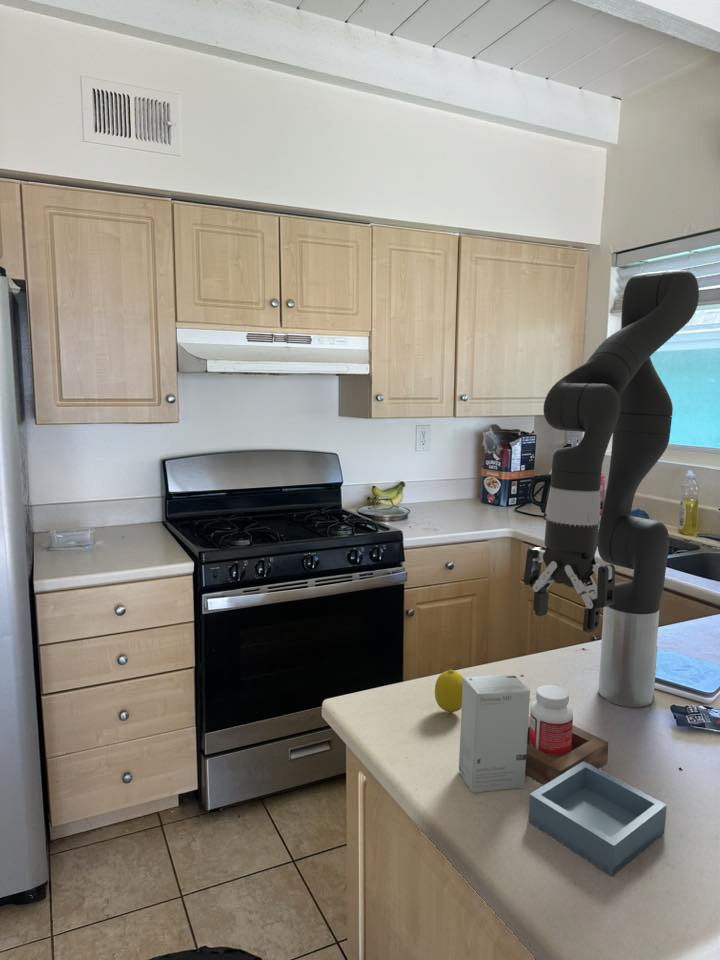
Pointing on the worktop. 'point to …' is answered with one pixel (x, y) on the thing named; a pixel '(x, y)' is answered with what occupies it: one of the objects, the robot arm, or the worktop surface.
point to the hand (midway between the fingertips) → (564, 622)
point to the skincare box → (493, 732)
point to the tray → (597, 816)
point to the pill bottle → (551, 721)
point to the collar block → (566, 756)
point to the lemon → (449, 691)
